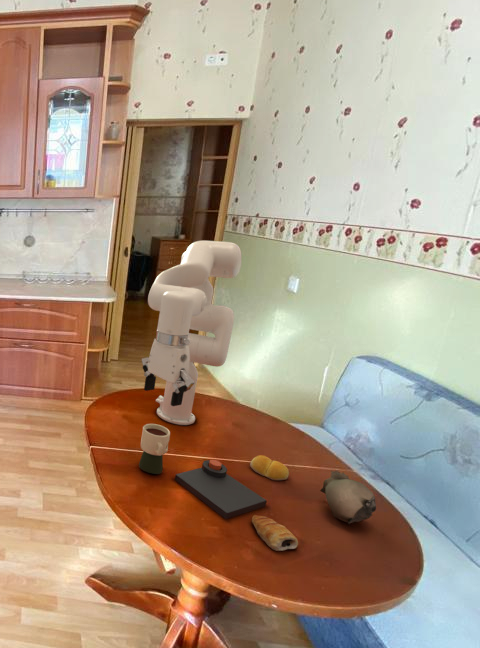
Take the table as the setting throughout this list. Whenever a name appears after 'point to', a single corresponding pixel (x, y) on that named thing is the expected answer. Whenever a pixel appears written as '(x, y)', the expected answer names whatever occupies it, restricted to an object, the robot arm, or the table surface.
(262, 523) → the pastry
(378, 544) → the table surface
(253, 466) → the bread roll
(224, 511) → the scale
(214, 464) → the button
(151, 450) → the character mug
